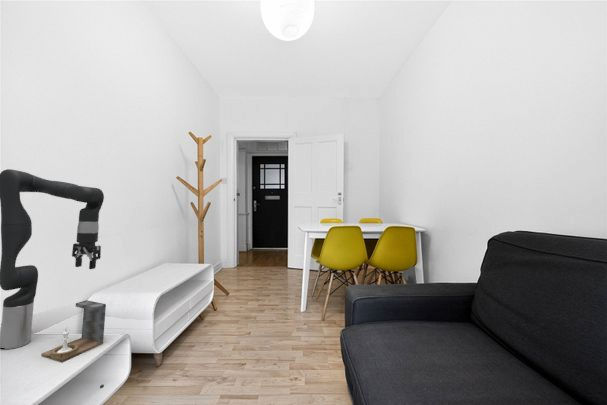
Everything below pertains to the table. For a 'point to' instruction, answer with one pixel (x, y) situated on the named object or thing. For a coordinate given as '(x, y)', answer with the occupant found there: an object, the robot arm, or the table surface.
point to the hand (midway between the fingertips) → (85, 267)
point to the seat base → (84, 332)
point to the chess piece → (65, 342)
